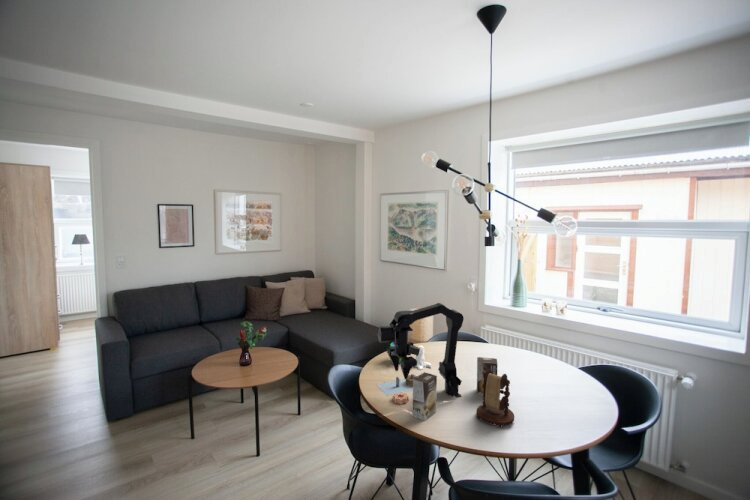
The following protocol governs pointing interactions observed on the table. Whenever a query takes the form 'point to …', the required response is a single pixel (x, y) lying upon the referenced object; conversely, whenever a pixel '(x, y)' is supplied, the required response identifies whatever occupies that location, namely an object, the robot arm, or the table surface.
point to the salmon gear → (400, 398)
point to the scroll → (495, 400)
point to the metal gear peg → (397, 381)
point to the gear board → (391, 387)
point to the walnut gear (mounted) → (410, 380)
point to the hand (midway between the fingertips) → (401, 374)
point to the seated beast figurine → (422, 359)
